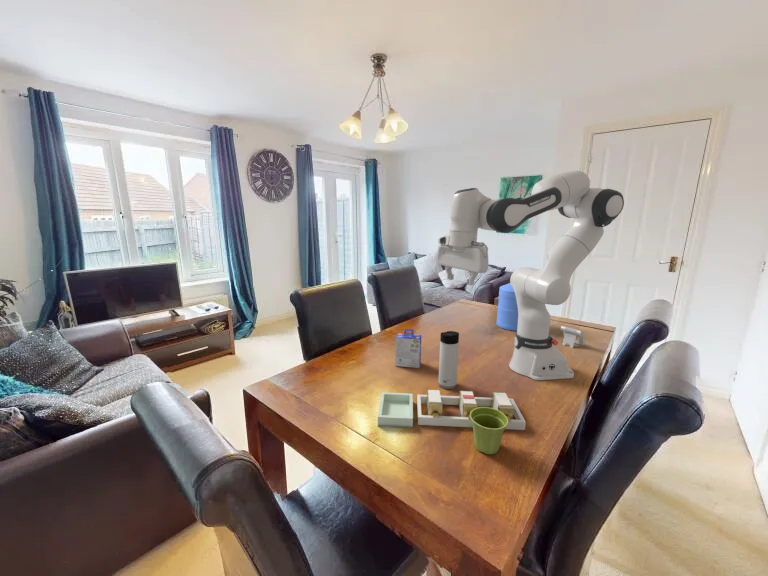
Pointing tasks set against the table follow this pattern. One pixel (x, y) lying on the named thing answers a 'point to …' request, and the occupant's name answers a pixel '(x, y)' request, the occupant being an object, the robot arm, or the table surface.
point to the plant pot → (488, 428)
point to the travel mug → (448, 359)
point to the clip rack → (464, 421)
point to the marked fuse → (466, 402)
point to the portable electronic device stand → (572, 336)
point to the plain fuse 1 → (434, 402)
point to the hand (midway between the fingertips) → (459, 282)
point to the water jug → (507, 308)
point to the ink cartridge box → (408, 349)
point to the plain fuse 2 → (502, 403)
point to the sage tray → (396, 410)
